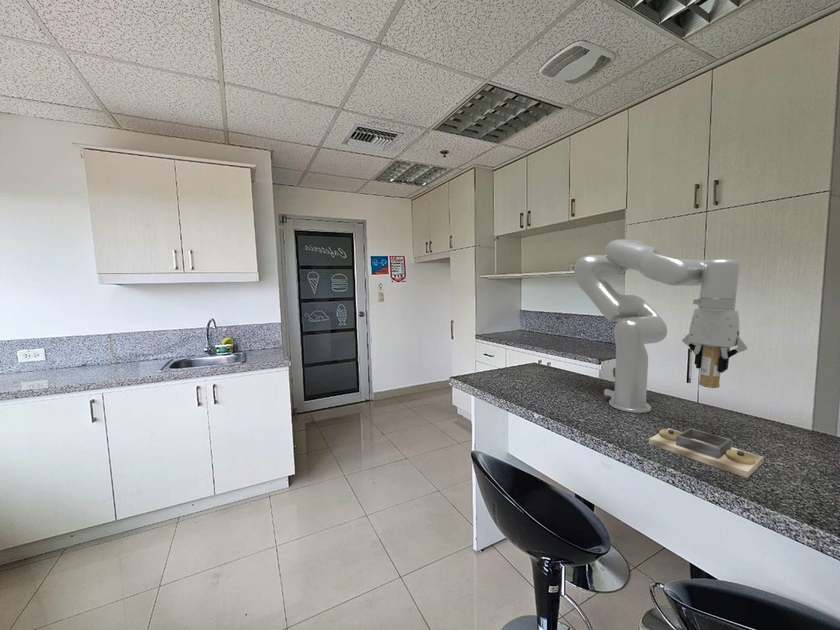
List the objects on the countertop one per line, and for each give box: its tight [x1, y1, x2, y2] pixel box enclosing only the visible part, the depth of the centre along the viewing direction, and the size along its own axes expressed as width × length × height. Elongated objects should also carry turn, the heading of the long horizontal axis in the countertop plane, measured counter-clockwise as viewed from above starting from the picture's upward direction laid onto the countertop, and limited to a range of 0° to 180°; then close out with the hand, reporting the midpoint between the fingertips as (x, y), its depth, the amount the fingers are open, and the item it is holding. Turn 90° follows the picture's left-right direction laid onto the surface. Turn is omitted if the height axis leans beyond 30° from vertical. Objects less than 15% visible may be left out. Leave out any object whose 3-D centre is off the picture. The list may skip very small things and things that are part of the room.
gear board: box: [648, 427, 765, 479], centre depth 89 cm, size 20×12×4 cm, turn 33°
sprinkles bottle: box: [698, 345, 722, 389], centre depth 97 cm, size 5×5×14 cm
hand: (710, 369), depth 97 cm, fingers closed on sprinkles bottle, 4 cm apart
